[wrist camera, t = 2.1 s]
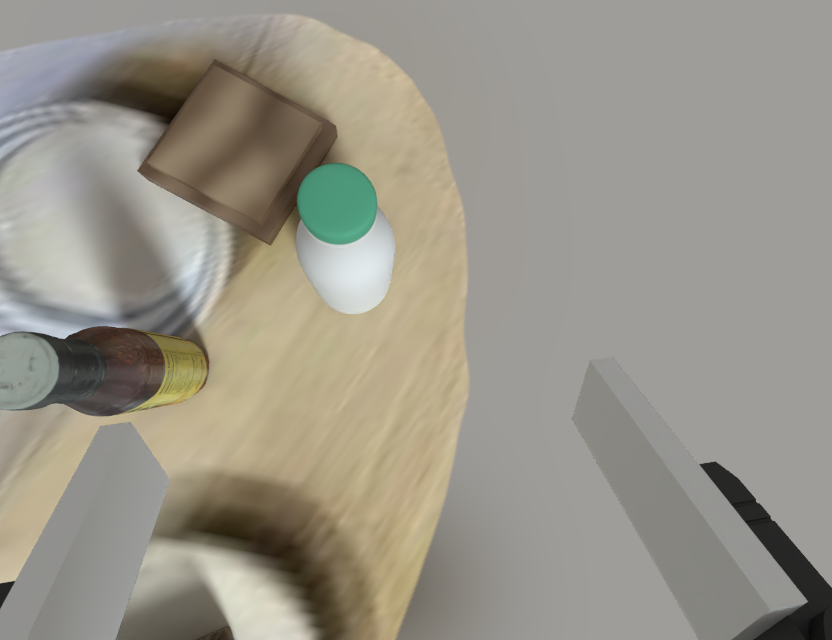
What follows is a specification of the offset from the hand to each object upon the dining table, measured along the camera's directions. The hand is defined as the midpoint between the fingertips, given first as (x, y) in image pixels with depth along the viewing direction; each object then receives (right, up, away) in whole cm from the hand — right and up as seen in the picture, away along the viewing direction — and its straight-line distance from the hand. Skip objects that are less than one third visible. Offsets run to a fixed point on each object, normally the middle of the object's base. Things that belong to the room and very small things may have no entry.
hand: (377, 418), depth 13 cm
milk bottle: (-5, +7, +31) cm, 32 cm away
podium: (-17, +20, +31) cm, 41 cm away
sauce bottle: (-22, -2, +28) cm, 36 cm away
